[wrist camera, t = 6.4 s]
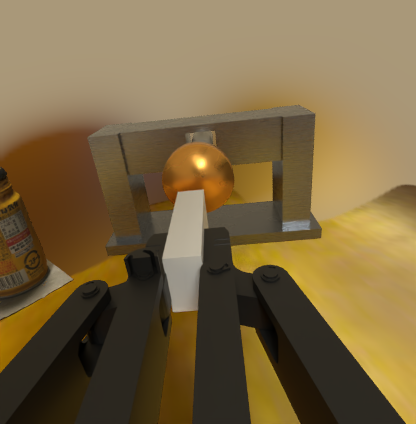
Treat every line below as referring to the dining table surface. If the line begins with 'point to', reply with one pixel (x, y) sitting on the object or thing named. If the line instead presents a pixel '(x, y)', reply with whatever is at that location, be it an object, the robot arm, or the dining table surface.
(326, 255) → the dining table surface
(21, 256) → the condiment
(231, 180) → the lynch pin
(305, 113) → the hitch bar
